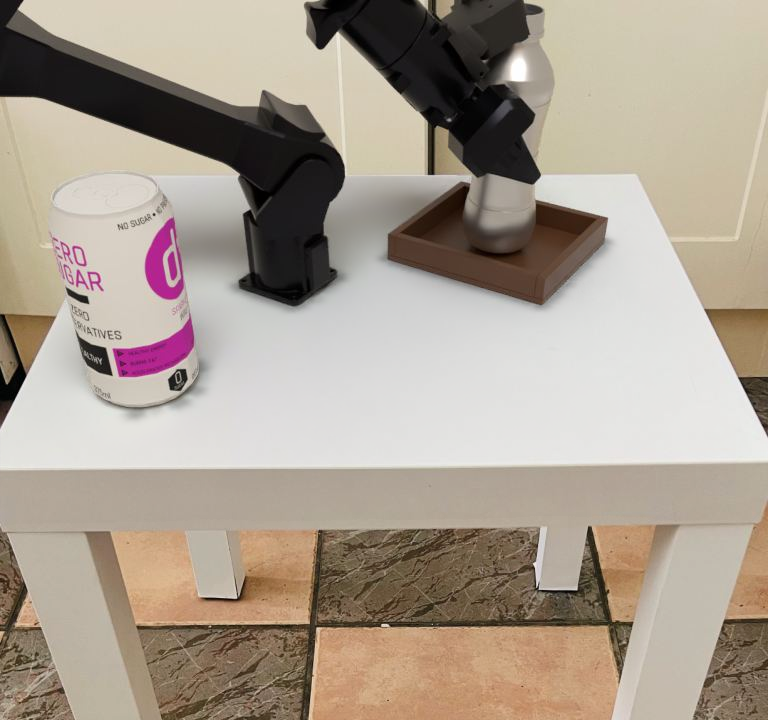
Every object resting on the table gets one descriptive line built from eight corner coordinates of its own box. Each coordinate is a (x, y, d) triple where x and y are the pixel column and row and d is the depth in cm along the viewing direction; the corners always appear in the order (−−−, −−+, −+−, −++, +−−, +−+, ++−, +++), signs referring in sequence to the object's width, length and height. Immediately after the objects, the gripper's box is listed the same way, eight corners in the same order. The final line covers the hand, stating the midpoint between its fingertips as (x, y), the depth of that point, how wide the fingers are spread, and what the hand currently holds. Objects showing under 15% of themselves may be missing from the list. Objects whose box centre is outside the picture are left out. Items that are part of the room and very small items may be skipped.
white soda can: (214, 356, 73) (186, 171, 63) (176, 418, 67) (138, 224, 57) (119, 346, 74) (76, 162, 64) (73, 405, 68) (17, 213, 58)
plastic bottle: (483, 222, 89) (505, -8, 75) (545, 243, 86) (579, 7, 72) (446, 247, 85) (462, 10, 71) (509, 270, 82) (538, 27, 68)
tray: (387, 259, 85) (387, 233, 83) (459, 205, 93) (461, 180, 91) (541, 305, 78) (545, 278, 77) (604, 242, 87) (608, 217, 85)
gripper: (521, -23, 62) (640, 126, 71) (432, -77, 75) (543, 55, 85) (407, 110, 65) (535, 235, 75) (342, 36, 79) (458, 150, 88)
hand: (518, 162), depth 81 cm, fingers open, 7 cm apart
